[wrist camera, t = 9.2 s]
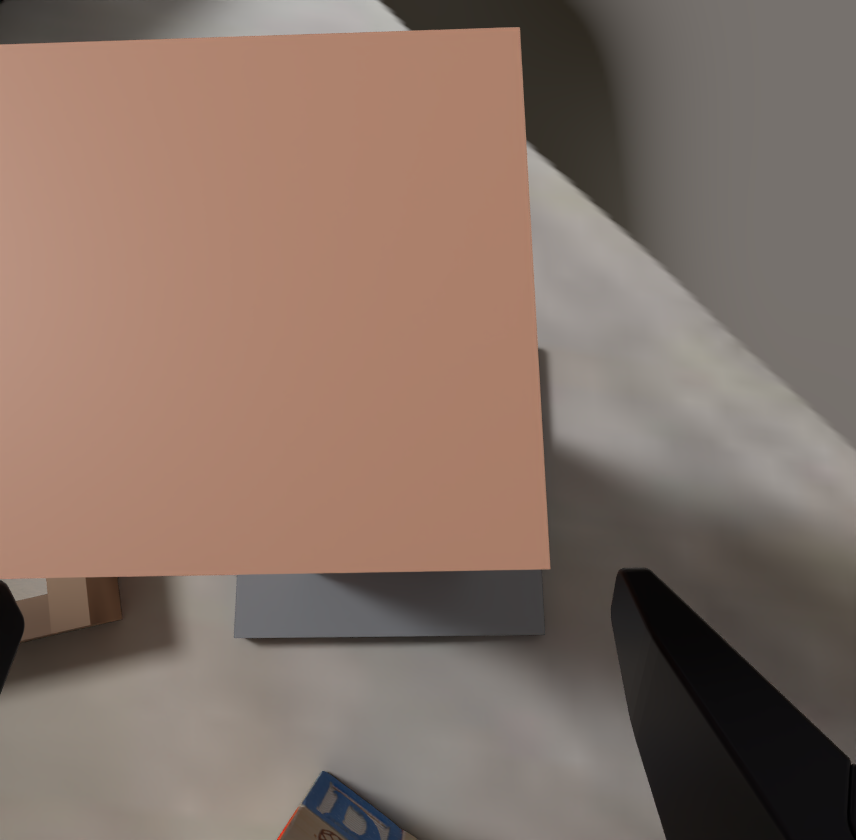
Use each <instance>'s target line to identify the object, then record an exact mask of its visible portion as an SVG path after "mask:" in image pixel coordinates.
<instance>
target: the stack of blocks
mask: <svg viewBox="0 0 856 840" xmlns="http://www.w3.org/2000/svg"><path fill="white" fill-rule="evenodd" d="M277 840H418V839H416V838H415V837H414V836H412V835H411V834H409V833H408V832H406V831H404V830H402V829H400V828H399V827H398V826H397V825H396V824H395V823H393V822H392V821H391V820H390V819H388V818H387V817H386V816H385V815H383V814H382V813H381V812H379V811H378V810H377V809H375V808H374V807H373V806H372V805H370V804H369V803H368V802H366V801H365V800H363V799H362V798H361V797H359V796H358V795H357V794H355V793H354V792H353V791H352V790H350V789H349V788H348V787H346V786H345V785H343V784H342V783H341V782H339V781H338V780H337V779H336V778H335V777H333V776H332V775H330V774H329V773H327V772H325V771H322V772H321V773H320V774H319V776H318V777H317V779H316V780H315V782H314V784H313V785H312V787H311V788H310V790H309V791H308V793H307V794H306V796H305V798H304V799H303V801H302V802H301V804H300V805H299V807H298V808H297V809H296V811H295V813H294V814H293V816H292V817H291V819H290V820H289V822H288V823H287V825H286V826H285V828H284V829H283V831H282V833H281V834H280V836H279V837H278V839H277Z"/></svg>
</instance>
